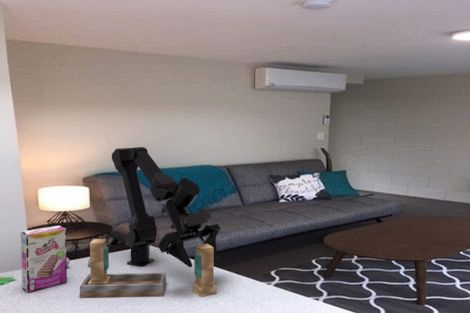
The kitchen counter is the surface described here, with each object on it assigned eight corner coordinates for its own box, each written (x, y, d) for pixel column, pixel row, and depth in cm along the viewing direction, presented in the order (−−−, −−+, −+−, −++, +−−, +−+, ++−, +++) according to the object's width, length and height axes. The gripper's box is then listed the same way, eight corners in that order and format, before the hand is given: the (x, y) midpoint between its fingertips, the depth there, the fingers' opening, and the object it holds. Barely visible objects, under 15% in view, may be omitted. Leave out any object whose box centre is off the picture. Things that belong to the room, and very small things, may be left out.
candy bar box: (28, 293, 118) (25, 234, 117) (21, 288, 122) (19, 231, 120) (68, 282, 126) (66, 227, 125) (61, 278, 130) (59, 224, 128)
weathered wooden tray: (79, 297, 116) (78, 246, 115) (89, 283, 126) (88, 236, 125) (162, 296, 117) (162, 245, 116) (166, 282, 127) (165, 235, 126)
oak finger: (208, 287, 124) (208, 242, 123) (216, 293, 119) (216, 247, 118) (192, 290, 121) (192, 245, 120) (200, 297, 117) (200, 250, 116)
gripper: (164, 204, 116) (190, 254, 109) (216, 196, 129) (243, 240, 122) (148, 228, 122) (172, 276, 115) (199, 217, 135) (224, 260, 128)
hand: (204, 262), depth 120 cm, fingers open, 9 cm apart
